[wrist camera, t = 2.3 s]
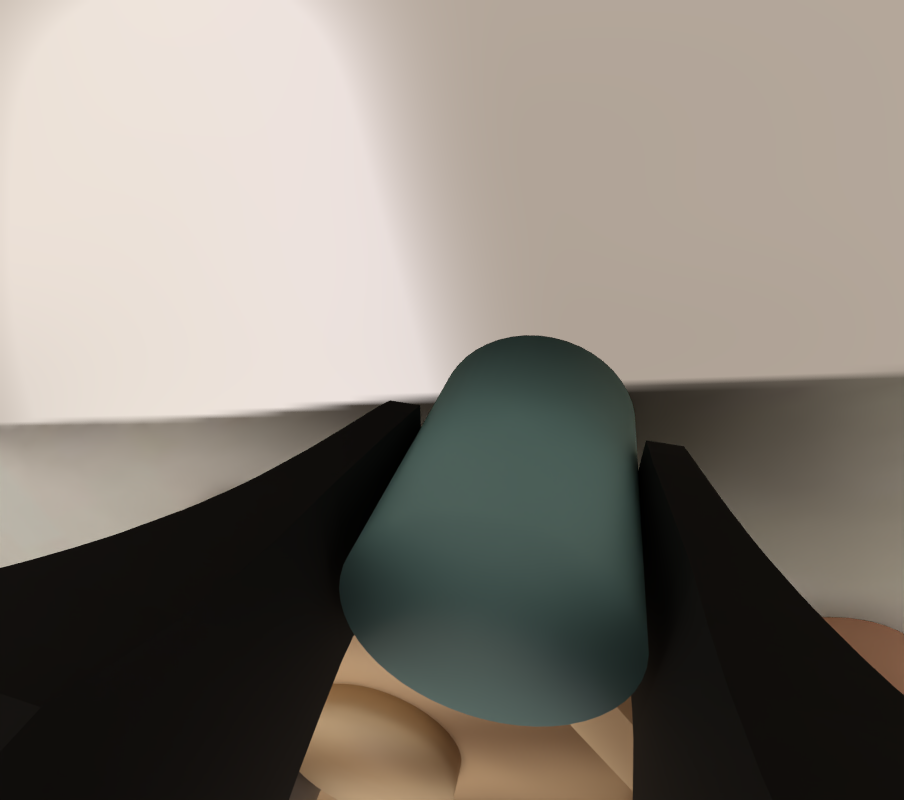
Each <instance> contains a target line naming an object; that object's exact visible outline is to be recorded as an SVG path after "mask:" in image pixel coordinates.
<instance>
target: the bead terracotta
mask: <svg viewBox="0 0 904 800" xmlns="http://www.w3.org/2000/svg"><path fill="white" fill-rule="evenodd" d="M822 618H823V619H824V620H825V621H826V622H827V623H828V624H829V625H830V626H831V627H832V628H833V629H834V630H835V631H836V632H837V633H838V634H839V635H840V636H842V637H843V638H844V639H845V640H846V641H847V642H848V643H849V644H850V645H851V646H852V647H853V648H854V649H855V650H856V651H857V652H858V653H859V654H860V655H861V656H862V657H863V658H864V659H865V660H866V661H867V662H868V663H869V664H870V665H871V666H872V667H873V668H875V669H876V670H877V671H878V672H879V673H880V674H881V675H882V676H883V677H884V678H885V679H886V680H888V681H889V682H890V683H891V684H892V685H893V686H894V687H895V688H896V689H898V690H899V691H900V692H901V693H902V694H903V695H904V634H903V633H901V632H899V631H897V630H895V629H892V628H890V627H887V626H884V625H881V624H878V623H874V622H869V621H865V620H859V619H852V618H839V617H822Z"/></svg>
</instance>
